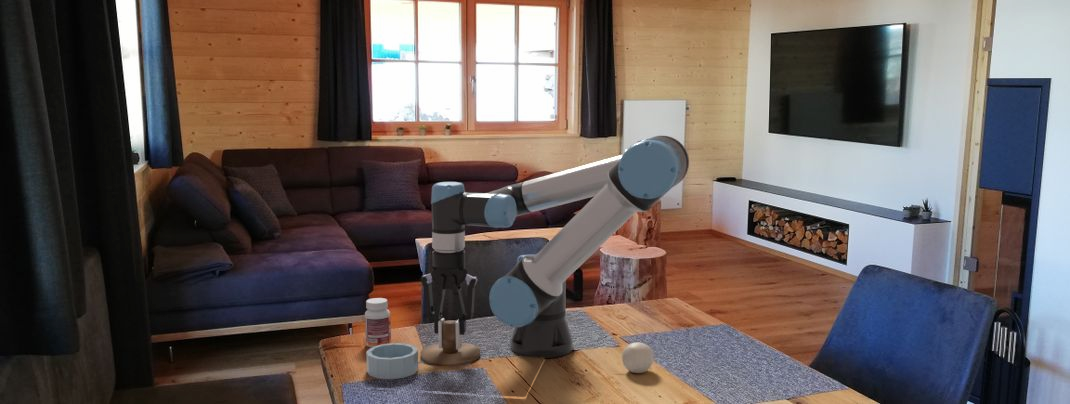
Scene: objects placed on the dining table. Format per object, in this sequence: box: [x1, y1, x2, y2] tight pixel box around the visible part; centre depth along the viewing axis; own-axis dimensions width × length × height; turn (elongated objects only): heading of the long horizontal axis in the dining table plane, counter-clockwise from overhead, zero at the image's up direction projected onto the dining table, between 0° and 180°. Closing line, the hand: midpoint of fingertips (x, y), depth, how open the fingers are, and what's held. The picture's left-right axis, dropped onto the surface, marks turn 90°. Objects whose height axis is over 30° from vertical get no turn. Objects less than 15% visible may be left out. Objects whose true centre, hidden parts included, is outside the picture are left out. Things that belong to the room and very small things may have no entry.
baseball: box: [621, 341, 654, 374], centre depth 191 cm, size 7×7×7 cm
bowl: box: [365, 342, 419, 380], centre depth 191 cm, size 11×11×5 cm
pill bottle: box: [364, 297, 392, 348], centre depth 210 cm, size 6×6×11 cm
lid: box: [419, 319, 481, 367], centre depth 201 cm, size 14×14×8 cm
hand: (450, 346), depth 201 cm, fingers closed on lid, 3 cm apart
